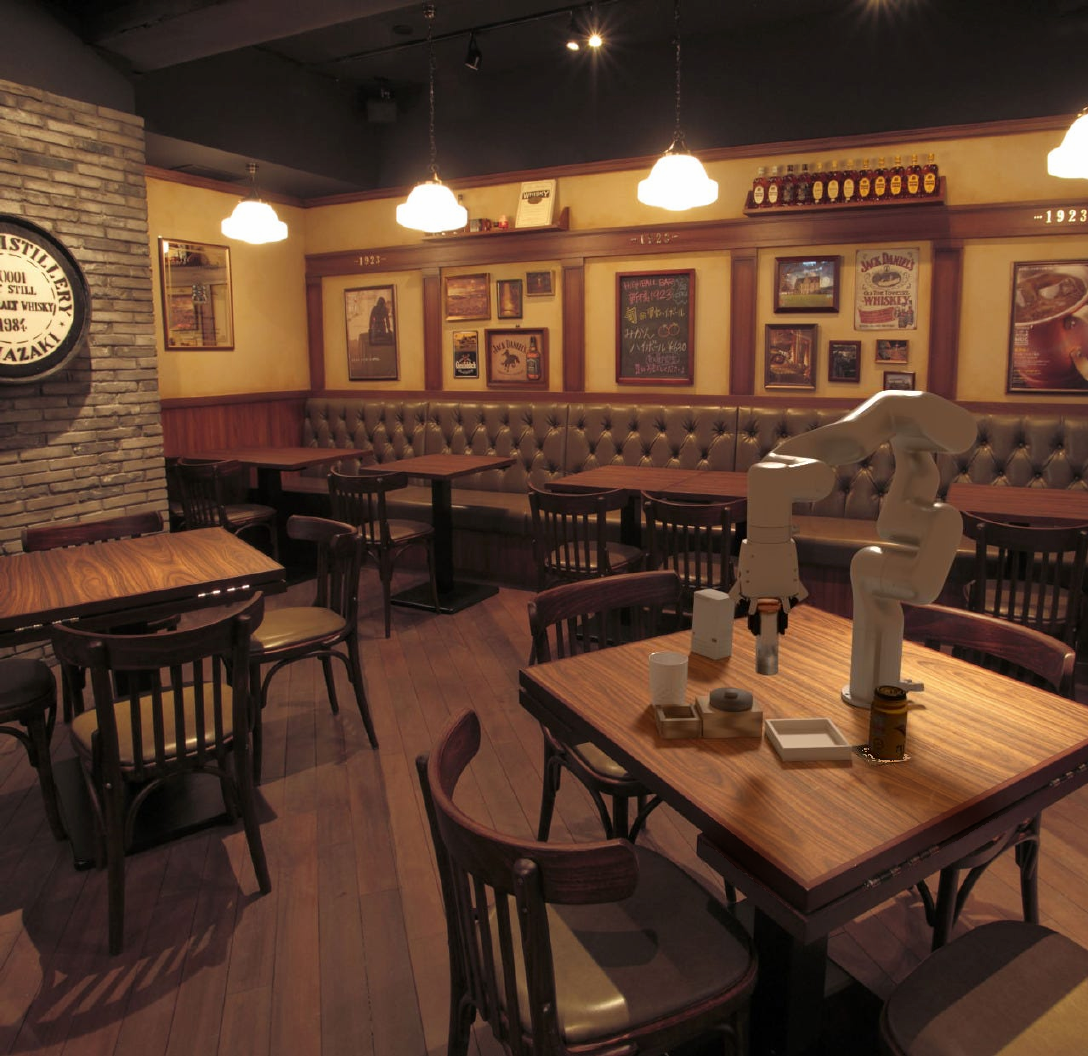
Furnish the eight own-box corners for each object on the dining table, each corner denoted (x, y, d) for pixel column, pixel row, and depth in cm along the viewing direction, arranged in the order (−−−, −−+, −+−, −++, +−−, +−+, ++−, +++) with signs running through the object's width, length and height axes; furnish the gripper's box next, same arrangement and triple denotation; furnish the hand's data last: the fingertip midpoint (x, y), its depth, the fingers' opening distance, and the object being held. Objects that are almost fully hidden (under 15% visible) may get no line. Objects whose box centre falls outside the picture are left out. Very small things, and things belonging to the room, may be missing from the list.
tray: (828, 730, 163) (828, 717, 163) (851, 759, 151) (852, 746, 151) (764, 731, 163) (765, 719, 162) (782, 761, 151) (783, 748, 151)
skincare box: (690, 651, 207) (691, 591, 204) (707, 646, 210) (708, 587, 207) (716, 661, 200) (718, 599, 197) (734, 655, 204) (736, 594, 201)
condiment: (915, 760, 151) (920, 695, 148) (871, 766, 149) (875, 700, 147) (889, 742, 158) (894, 680, 155) (848, 748, 156) (851, 685, 154)
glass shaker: (777, 666, 159) (778, 598, 157) (783, 676, 155) (784, 606, 152) (750, 667, 160) (751, 599, 157) (756, 676, 155) (756, 607, 152)
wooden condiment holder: (751, 718, 169) (752, 682, 167) (762, 736, 161) (763, 699, 160) (654, 721, 169) (655, 685, 167) (661, 739, 161) (661, 701, 159)
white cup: (686, 713, 172) (687, 665, 170) (646, 711, 173) (647, 663, 171) (688, 698, 179) (689, 652, 177) (650, 695, 181) (650, 650, 179)
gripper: (811, 527, 155) (808, 624, 159) (717, 530, 156) (716, 627, 160) (823, 536, 148) (820, 638, 152) (724, 540, 148) (724, 641, 152)
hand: (767, 632), depth 156 cm, fingers closed on glass shaker, 4 cm apart
